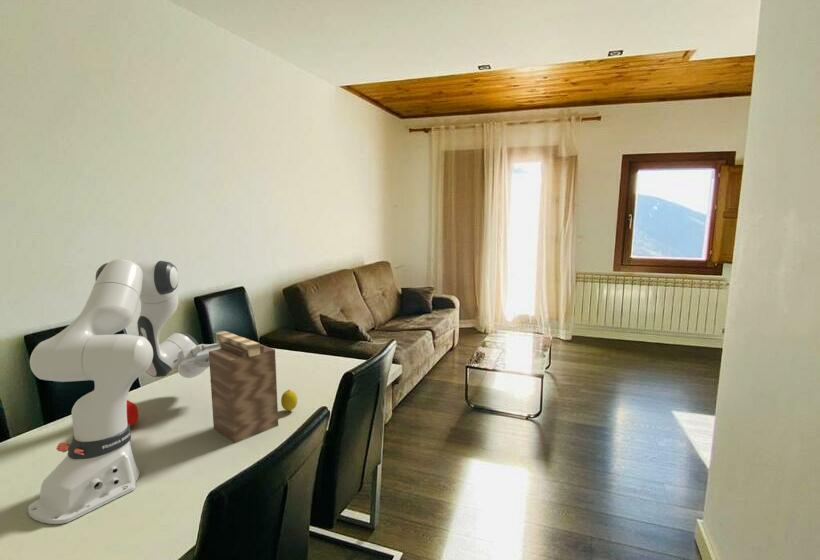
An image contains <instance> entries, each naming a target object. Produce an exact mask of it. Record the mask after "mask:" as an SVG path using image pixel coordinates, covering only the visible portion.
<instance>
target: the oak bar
mask: <svg viewBox="0 0 820 560" xmlns="http://www.w3.org/2000/svg"><path fill="white" fill-rule="evenodd" d="M212 334H213V335H212V336H213V344H215V343H217V344H219V345H220V343H222V342H227V343H229V344H232V345H234V346H237V347H240V348H242V349H245V350H247V356H249V357H251V356H255V355H259V354H260V342H257V341H255V340H252V339H249V338H246V337H243V336H240V335H237V334H235V333H232V332H229V331H226V330H218V331H214V332H213V333H212Z"/></svg>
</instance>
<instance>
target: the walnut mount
mask: <svg viewBox="0 0 820 560" xmlns="http://www.w3.org/2000/svg"><path fill="white" fill-rule="evenodd" d="M220 345H221V349H217V350H213V351H209V363H210V367H209V374H210V375H209V376H210V391H211V404H212V405H211V407H212V409H211V410H212V421H213V422H212V423H213V429H214V430H215V431H216V432H218V433H220V434H221V435H222V436H224V437H225V438H227V439H228V440H230V441H231V442H232V443H233V444H236V443H238V442H241V441H244V440H245V439H249V438H251V437H253V436H257V435H259V434H261V433H263V432H266V431H268V430H270V429H273V428H276V427H277V426H279V415H278V412H279V411H278V388H277V369H276V368H277V367H276V366H277V362H276V349H275V348H272V347H270V346H269V347H268V345H264V344H260V354H259V355H255V356H251V357H249V356H247V350H245V349H242V348H240V347H237V346H234V345H232V344H229V343H227V342H222V343H220Z"/></svg>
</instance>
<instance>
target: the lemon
mask: <svg viewBox="0 0 820 560" xmlns="http://www.w3.org/2000/svg"><path fill="white" fill-rule="evenodd" d="M281 395H282V396H281V399H280V403H281V406H282V408H283V409H284V410H286V411H288V412H291V411H293V410H294V409H295V408H296V407H297V404H298V396H297V394H296V392H295V391H294V390H291V389H288V390H285V391H284V392H283V393H282V394H281Z"/></svg>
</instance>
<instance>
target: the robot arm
mask: <svg viewBox="0 0 820 560" xmlns="http://www.w3.org/2000/svg"><path fill="white" fill-rule="evenodd" d="M95 272H96V273H95V282H94V284H93V287H92V290H91V292H90V294H89V296H88V299H87V301H86V303H85V305H84V307H83V309H82V311H81V312H80V314H78V316H77V317H76V318H75V320H73V321H72V322H71V323H70V324H69V325H68V326H66V327H65V328H64V329H63V330H61V331H59V333H56V334H55V335H54V336H52V337H50V338H47V339H45V340H42V341H40V342H39V343H38V344H37V345H36V346H35V347H34V349H33V350H32V352H31V355H30V358H29V367H30V370H31V372H32V373H33V374H34V376H35V377H36V378H38V379H39V380H43V381H53V382H57V383H58V382H61V383H65V382H66V383H67V382H81V381H93V383H94V389H93V390H92V391H90V392H88V393H86V394H85V395H82V396H81V397H80V398H79V399H77V400H76V402H75V403H74V405H73V406H72V408H71V420H72V428H73V437H72V439H71V442H70V444H69V443H65V442H63V441H62V442H59V443H58V444H57V446H56V448H55V449H56V451H57V452H62V453H67V455H66V456H65V457H64V458H63V459H62V461H60V463H59V464H58V465H57V466H56V467H55V468H54V469H53V470H52V471H51V473H50V474H48V476H46V477H45V479H44V480H43V481H42V483H41V484H40V485H41V486H40V491H39V498H38V499H36V500H34V501H33V502H31V503H30V504H29V505H28V510H27V512H28V513H27V514H28V515H29V517H32V518H31V519H33V520H34V521H35V520H36V521H37V522H40V523H44V524H49V525H61V524H66V523H70V522H72V521H73V520H75V519H78V518H79V517H82V516H84V515H86V514H88V513H90V512H92V511H94V510H97V509H98V508H101V507H102V506H104V505H106V504H109V503H110V502H112V501H115V500H116V499H118V498H120V497H122V496H124V495H126V494H129V493H131V492H133V491H134V490H135V489H136V488H137V486H136V482H137V480H138V479H139V478H140V474H141V473H140V469H139V468H138V465H137V464H136V461H135V458H134V454H133V451H132V446H131V439H132V434H131V426H130V425H129V424H128V423H127V400H128V394H129V391H130V390H131V389H130V388H131V387H132V385H133V383H134V382H135V381H136V380H137V379H138V378H139V377H140V376H141V375H143V374H144V373H145V372H146V374H147V375H149V376H151V377H154V378H162V377H166V376H167V375H168V374H169V373H170V372H172V370H173V369H174V368H176V367H177V372H178V374H179V375H180V376H181V377H183V378H187V379H192V378H196V377H198V376H199V375H201V374H202V373H204V372H205V371H206V370H207V369H209V368H210V363H209V351H213V350H217V349H221V345H219V344H217V343H211V344H210V343H209V344H208V343H206V344H205V343H201V344H199V342H198V341H197V340H196V339H195V338H194V337H193V336H192V335H191V334H189V333H185V332H180V331H178V332H174V333H173V334H171V335H170V336H168V337H167V338H166V339H165V340H163V342H161V343H160V342H159V341H160V340H159V335H160V332H161V330H162V328H163V327H164V326H165V324H166V322H168V321H169V319H170V318H171V317H172V316H173V315H174V314H175V312H176V311H177V309H178V306H179V295H178V292H177V288H178V285H179V279H180V278H179V272H178V269H177V267H176V266H175V265H174V264H173V263H172V262H170V261H165V260H158V261H157V260H155V261H154V260H138V259H137V260H136V259H135V260H130V259H126V258H116V259H113V260H111V261H109V262H106V263H104V264H101V266H99V268H98V269H97V270H96V271H95ZM139 301H140V314H139V317H138V320H137V323H136V324H137V332H138V335H136V334H128V333H118V332H121V331H124V329H126V328H127V327H129V326H130V324H131V323H132V322H133V319H134V317H135V313H136V311H137V308H138V304H139ZM117 333H118V334H117Z"/></svg>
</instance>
